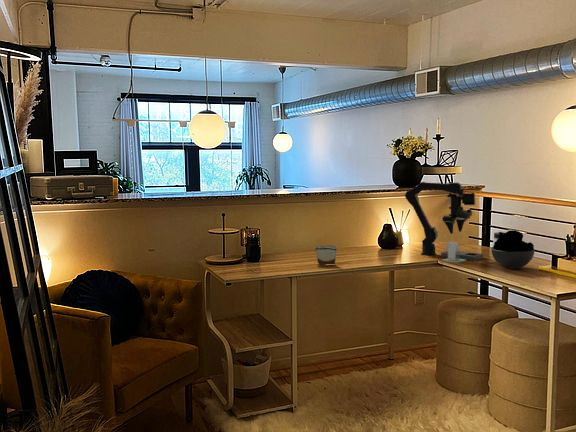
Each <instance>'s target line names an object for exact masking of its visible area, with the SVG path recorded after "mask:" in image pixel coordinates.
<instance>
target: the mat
mask: <svg viewBox="0 0 576 432" xmlns="http://www.w3.org/2000/svg"><path fill="white" fill-rule="evenodd" d="M441 261H442V262H448V263H449V262H450V263H457V264H458V263H462V262H466V261H467V260H463V259H460V260H457V261H452V260H448V258H444V259H441Z"/></svg>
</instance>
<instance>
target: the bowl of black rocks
mask: <svg viewBox="0 0 576 432" xmlns="http://www.w3.org/2000/svg"><path fill="white" fill-rule="evenodd" d="M498 232H499V236H500V237H499V238H498V239H497V241H495V242H494V246H493V245H492V247H490V251H491V255H492V258H493V259H494V260H495V262H496V263H497V264H499V265H500V266H501V267H503V268H506V269H510V270H516V269H521V268H523V267H525V266H527V265H528V264H529V263H530V262H531V261H532V260H533V258H534V255H535V251H536V249H535V247H534V246H535V245H534V243H532V242H531V241H530V242H525V241H524V240H523V238H524V234H523V232H521V231H519V230H515V229H511V230H508V231H506V232H505V233H504V234H503V233H502V232H503V231H498Z"/></svg>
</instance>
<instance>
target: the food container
mask: <svg viewBox="0 0 576 432" xmlns="http://www.w3.org/2000/svg"><path fill="white" fill-rule="evenodd" d="M314 251H315V252H316V260H317V264H318V263H319V264H335V265H336V258H337V252H338V247H337V246H336V245H332V244H331V245H330V244H329V245H328V244H327V245H326V244H325V245H317V246H315V248H314Z"/></svg>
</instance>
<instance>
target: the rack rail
mask: <svg viewBox="0 0 576 432" xmlns="http://www.w3.org/2000/svg"><path fill="white" fill-rule="evenodd" d="M440 257H441V258H444V259H447V258H448V253H446V250H445V251H441V252H440ZM460 259H463V260H466V261H469V260H471V262H475V260H476V261H479V260H481V259H482V260H483V259H484V253H480V252H472V251H462V250H460Z"/></svg>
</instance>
